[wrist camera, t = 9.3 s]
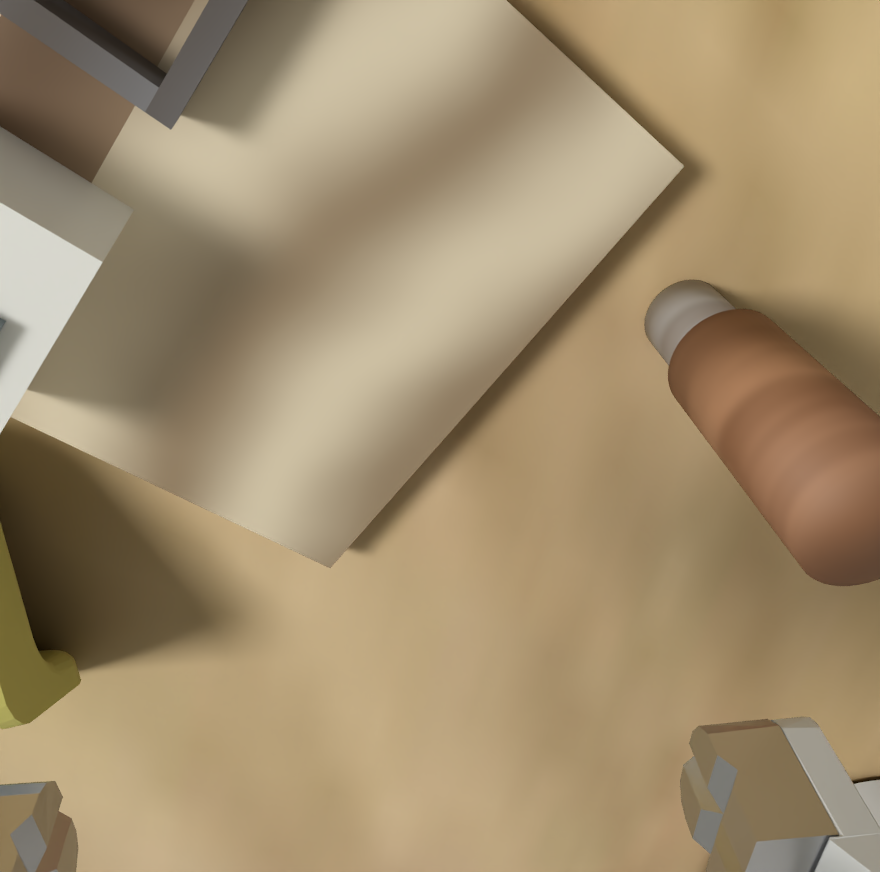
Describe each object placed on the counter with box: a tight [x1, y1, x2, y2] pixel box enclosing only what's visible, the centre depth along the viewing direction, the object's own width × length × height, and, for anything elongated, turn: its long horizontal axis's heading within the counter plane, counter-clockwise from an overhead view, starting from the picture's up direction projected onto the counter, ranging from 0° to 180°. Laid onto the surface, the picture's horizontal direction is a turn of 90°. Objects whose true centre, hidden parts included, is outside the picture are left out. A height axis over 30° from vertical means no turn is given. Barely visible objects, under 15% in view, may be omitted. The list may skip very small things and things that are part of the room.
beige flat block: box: [0, 0, 684, 568], centre depth 20 cm, size 18×16×3 cm
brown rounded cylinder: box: [645, 280, 880, 586], centre depth 20 cm, size 3×3×10 cm
